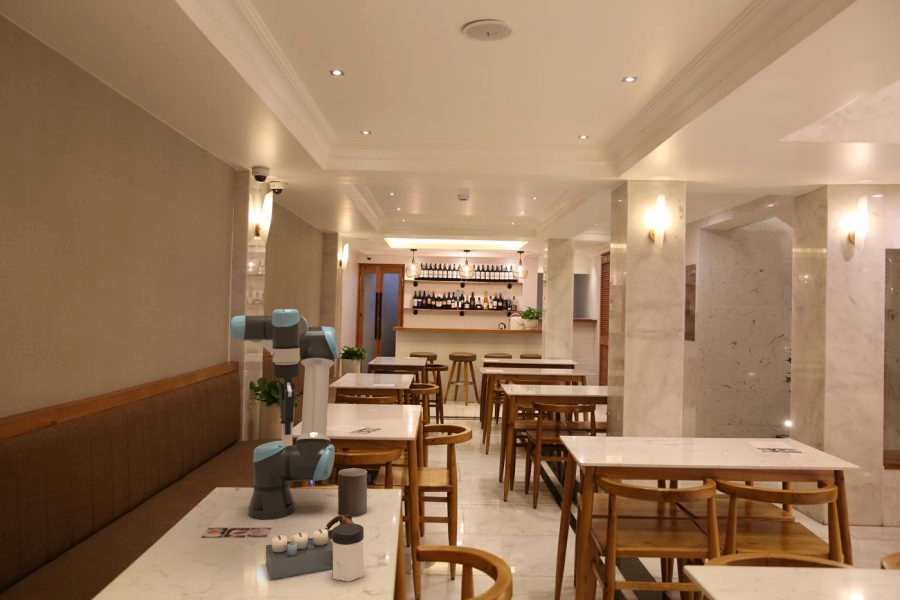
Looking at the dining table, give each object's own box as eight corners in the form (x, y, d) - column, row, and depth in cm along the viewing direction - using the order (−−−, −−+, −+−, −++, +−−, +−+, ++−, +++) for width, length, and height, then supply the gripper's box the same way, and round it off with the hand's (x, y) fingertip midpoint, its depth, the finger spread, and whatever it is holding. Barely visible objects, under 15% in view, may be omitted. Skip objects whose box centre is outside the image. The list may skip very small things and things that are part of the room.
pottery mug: (359, 547, 183) (345, 525, 181) (331, 560, 185) (317, 538, 183) (365, 522, 195) (352, 502, 193) (339, 534, 196) (326, 514, 194)
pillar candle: (338, 518, 206) (339, 472, 206) (337, 508, 215) (337, 464, 215) (368, 516, 208) (368, 471, 208) (365, 506, 218) (365, 463, 218)
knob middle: (291, 562, 171) (291, 533, 171) (306, 560, 173) (306, 530, 173) (294, 568, 168) (294, 538, 168) (309, 565, 169) (309, 535, 169)
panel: (266, 563, 172) (265, 545, 172) (327, 552, 178) (327, 535, 178) (271, 580, 162) (271, 560, 162) (336, 568, 168) (336, 549, 168)
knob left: (271, 566, 169) (270, 536, 169) (286, 563, 171) (285, 533, 171) (273, 572, 166) (272, 541, 166) (288, 569, 167) (288, 538, 167)
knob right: (312, 559, 174) (311, 529, 174) (326, 556, 175) (326, 527, 175) (315, 564, 170) (314, 534, 170) (329, 562, 172) (329, 532, 171)
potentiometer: (287, 553, 166) (286, 536, 166) (296, 551, 167) (296, 534, 167) (288, 556, 164) (288, 539, 164) (297, 555, 165) (297, 537, 165)
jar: (325, 578, 162) (324, 532, 162) (341, 565, 170) (341, 521, 170) (355, 583, 159) (354, 536, 159) (371, 570, 167) (370, 525, 166)
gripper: (269, 361, 184) (270, 441, 184) (275, 366, 172) (276, 451, 172) (295, 360, 187) (296, 439, 187) (303, 364, 175) (304, 449, 175)
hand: (287, 445), depth 180 cm, fingers closed
